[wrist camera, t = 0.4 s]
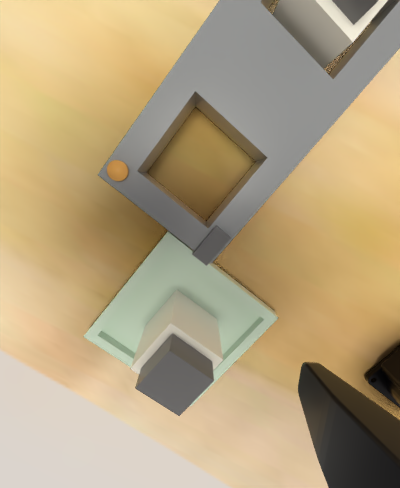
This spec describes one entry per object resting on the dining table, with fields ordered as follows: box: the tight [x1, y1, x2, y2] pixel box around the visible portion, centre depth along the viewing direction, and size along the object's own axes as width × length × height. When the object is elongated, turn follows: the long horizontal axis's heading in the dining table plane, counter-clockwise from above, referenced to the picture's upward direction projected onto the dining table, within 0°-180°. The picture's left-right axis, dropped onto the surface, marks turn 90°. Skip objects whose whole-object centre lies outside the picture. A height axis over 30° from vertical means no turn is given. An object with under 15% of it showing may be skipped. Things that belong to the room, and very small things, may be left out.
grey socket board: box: [98, 0, 400, 266], centre depth 15 cm, size 9×20×3 cm, turn 141°
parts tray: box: [84, 230, 278, 406], centre depth 20 cm, size 11×11×1 cm
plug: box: [130, 290, 223, 416], centre depth 17 cm, size 4×4×6 cm
